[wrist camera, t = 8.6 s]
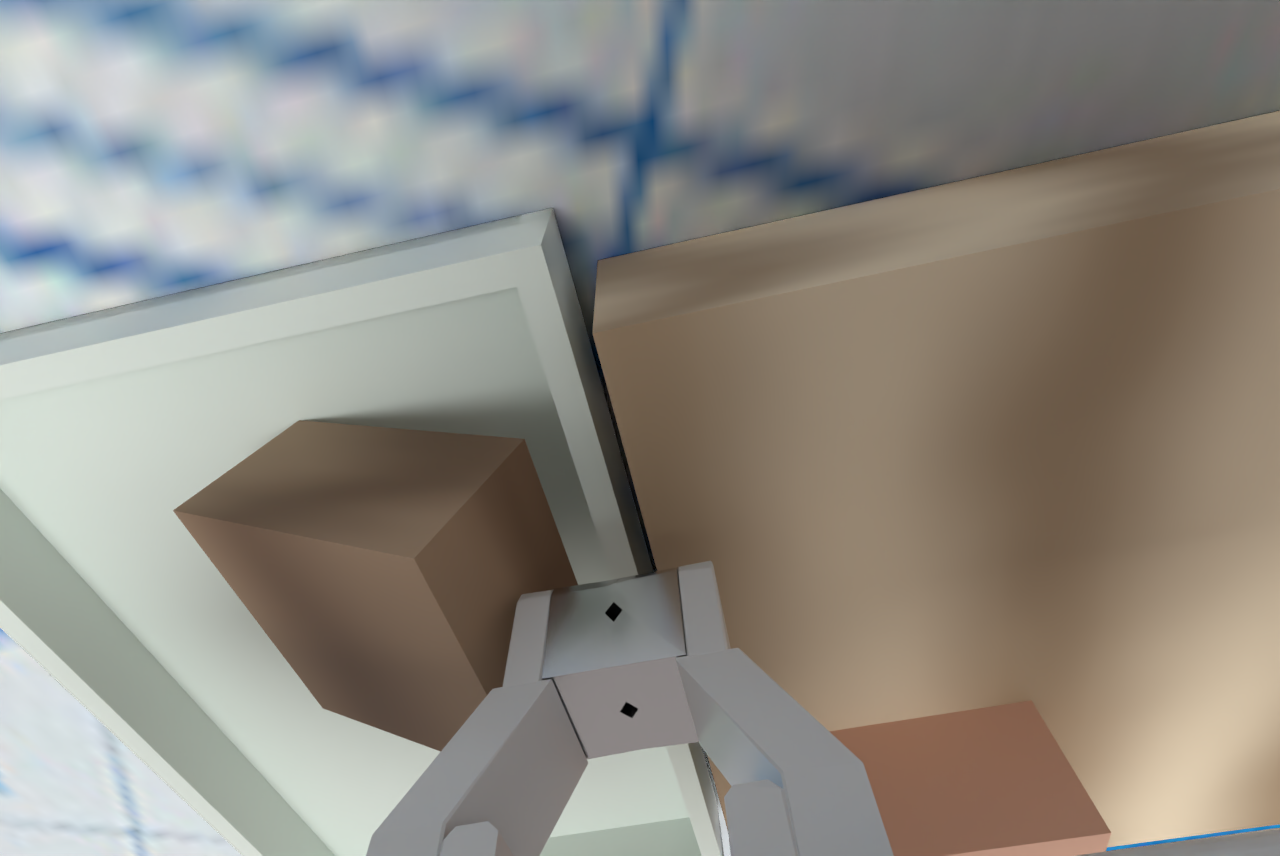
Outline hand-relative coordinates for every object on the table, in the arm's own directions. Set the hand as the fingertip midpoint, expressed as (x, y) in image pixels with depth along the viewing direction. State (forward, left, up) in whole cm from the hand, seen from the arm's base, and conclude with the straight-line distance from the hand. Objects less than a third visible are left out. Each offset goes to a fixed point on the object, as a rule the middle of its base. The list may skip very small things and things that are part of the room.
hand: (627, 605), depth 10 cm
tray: (+6, +4, -4) cm, 8 cm away
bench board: (-8, +4, -4) cm, 9 cm away
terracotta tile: (-5, +8, -1) cm, 9 cm away
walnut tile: (+3, 0, -2) cm, 4 cm away
